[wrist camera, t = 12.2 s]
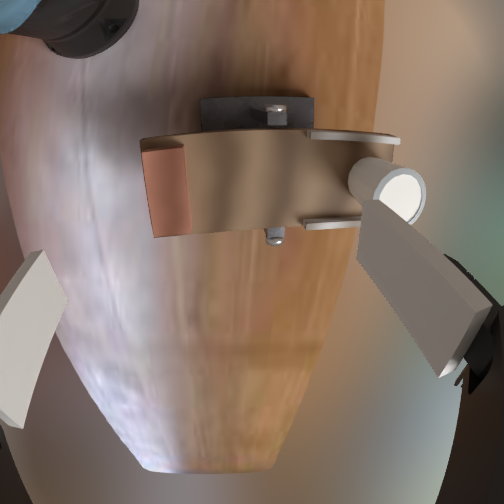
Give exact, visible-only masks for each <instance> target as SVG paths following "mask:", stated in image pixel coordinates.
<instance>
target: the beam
mask: <svg viewBox="0 0 504 504" xmlns="http://www.w3.org/2000/svg"><path fill="white" fill-rule="evenodd" d="M394 144H397V145H400V138H399V137H396V136H393V135H390V134H383V133H373V132H362V131H349V130H332V129H305V128H262V129H234V130H217V131H204V132H192V133H182V134H173V135H165V136H157V137H149V138H143V139H141V140H140V148H141V157H142V165H143V172H144V180H145V187H146V193H147V200H148V206H149V212H150V218H151V224H152V229H153V235H154V238H157V237H168V236H179V235H190V234H201V233H213V232H225V231H238V230H251V229H264V228H278V227H292V226H304V228H305V229H306V230H318V229H333V228H348V227H360V225H361V216H362V206H361V205H360V204H359V203H358V201H357V200H356V199H355V198H354V197H353V195H352V194H351V192H350V191H349V186H348V177H349V173H350V171H351V169H352V167H353V166H354V164H356V163H357V162H358V161H359V160H360V159H363V158H366V157H374V158H379V159H382V160H385V161H389V162H392V160H393V151H394Z"/></svg>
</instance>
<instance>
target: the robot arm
mask: <svg viewBox="0 0 504 504" xmlns="http://www.w3.org/2000/svg"><path fill="white" fill-rule="evenodd" d="M138 6H139V0H0V34H5V33H9V34H16V35H22V36H28V37H33V38H39V39H42V40H43V41H44V42H45V44H46V45H47V46H48V48H49V49H50V50H51V51H52V52H54V53H56V54H57V55H60V56H63V57H68V58H74V59H80V58H87V57H91V56H94V55H96V54H99V53H101V52H103V51H105V50H106V49H108V48H109V47H111V46H112V45H114V44H115V43H116V42H117V41H118V40H119V39H120V38H121V37H122V36H123V35H124V34H125V33H126V32H127V30H128V29H129V28H130V26H131V24H132V23H133V21H134V19H135V16H136V14H137V11H138ZM357 260H358V262H359V263H360V264H361V265H362V267H363V268H364V270H365V271H366V272H367V274H368V275H369V276H370V278H371V279H372V280H373V282H374V283H375V284H376V286H377V287H378V288H379V290H380V291H381V293H382V294H383V295H384V297H385V298H386V299H387V301H388V302H389V304H390V305H391V307H392V308H393V309H394V311H395V312H396V314H397V315H398V317H399V318H400V320H401V321H402V323H403V324H404V325H405V327H406V328H407V330H408V331H409V333H410V334H411V336H412V337H413V339H414V340H415V342H416V343H417V345H418V346H419V348H420V349H421V351H422V353H423V354H424V356H425V357H426V359H427V361H428V362H429V364H430V365H431V367H432V369H433V370H434V372H435V374H436V375H437V377H438V378H439V377H441V376H443V375H446V374H448V373H450V372H452V371H454V370H455V369H456V368H457V366H458V365H459V363H460V362H461V360H462V359H463V357H464V359H465V360H466V361H467V363H468V364H467V365H466V367H465V368H464V370H463V371H462V372H461V374H460V375H459V377H458V378H457V380H456V382H455V384H454V385H455V386H457V385H458V384H459V383H460V381H461V380H462V379H463V384H462V386H461V387H462V394H461V402H460V408H459V415H458V420H457V426H456V431H455V436H454V441H453V445H452V450H451V454H450V458H449V461H448V465H447V469H446V472H445V476H444V479H443V482H442V486H441V489H440V492H439V495H438V498H437V500H436V503H435V504H504V306H501V305H499V303H498V302H497V301H496V300H495V299H494V298H493V297H492V296H491V295H490V294H489V293H488V292H487V291H486V290H485V288H484V287H483V286H482V285H481V284H480V283H479V282H478V281H477V280H476V279H475V280H474V277H473V276H472V275H471V274H470V273H469V272H467V270H466V269H465V268H464V267H463V266H462V265H461V264H460V263H459V262H458V261H456V260H454V259H453V258H451V257H449V256H447V255H446V254H442V253H441V252H440V251H439V250H438V249H437V248H436V247H435V246H433V245H432V244H431V243H430V242H429V241H428V240H427V239H426V238H425V237H424V236H422V235H421V234H420V233H419V232H418V231H417V230H416V229H414V228H413V227H412V226H411V225H410V224H409V223H407V222H406V221H405V220H404V219H403V218H401V217H400V216H399V215H398V214H397V213H395V212H394V211H393V210H392V209H390V208H389V207H388V206H387V205H385V204H384V203H383V202H382V201H380V200H379V199H377V200H366V201H363V205H362V216H361V225H360V234H359V244H358V251H357ZM67 302H68V300H67V298H66V296H65V294H64V292H63V290H62V288H61V286H60V284H59V282H58V280H57V278H56V276H55V274H54V272H53V269H52V267H51V265H50V263H49V261H48V258H47V256H46V254H45V252H44V250H40V251H35V252H31V253H30V255H29V256H28V257H27V258H26V260H25V261H24V263H23V264H22V265H21V267H20V268H19V269H18V271H17V272H16V273H15V275H14V276H13V278H12V279H11V281H10V282H9V284H8V285H7V287H6V288H5V289H4V291H3V292H2V294H1V295H0V418H1V419H2V420H3V421H4V422H6V423H7V424H8V425H9V426H13V427H17V428H21V429H23V427H24V422H25V419H26V415H27V411H28V408H29V404H30V401H31V397H32V394H33V391H34V387H35V384H36V381H37V378H38V375H39V372H40V369H41V366H42V363H43V360H44V358H45V355H46V352H47V350H48V347H49V345H50V342H51V339H52V337H53V335H54V332H55V330H56V327H57V325H58V323H59V320H60V318H61V316H62V313H63V311H64V309H65V307H66V304H67ZM0 504H33V503H32V501H31V499H30V497H29V495H28V493H27V491H26V489H25V487H24V485H23V482H22V480H21V478H20V475H19V473H18V471H17V468H16V466H15V463H14V460H13V458H12V455H11V452H10V450H9V447H8V444H7V441H6V438H5V435H4V431H3V429H2V427H1V425H0Z"/></svg>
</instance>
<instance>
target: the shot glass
mask: <svg viewBox="0 0 504 504" xmlns="http://www.w3.org/2000/svg"><path fill="white" fill-rule="evenodd" d="M348 186H349V191H350V192H351V194H352V195H353V197H354V198H355V199H356V200H357V201H358V203H359V204H360V205H361V206H362V205H363V201H366V200H377V199H379V200H380V201H382V202H383V203H384V204H385V205H387V206H388V207H389V208H390V209H392V210H393V211H394V212H395V213H397V214H398V215H399V216H400V217H401V218H403V219H404V220H405V221H406V222H407V223H409V224H410V225H411V224H413V223H414V222H415V221H416V220H417V218H418V217H419V215H420V213H421V212H422V210H423V208H424V204H425V200H426V189H425V188H426V187H425V184H424V182H423V179H422V177H421V176H420V175H419V174H418V173H417V172H416V171H414V170H413V169H410V168H407V167H404V166H401V165H398V164H395V163H392V162H389V161H385V160H382V159H379V158H374V157H366V158H363V159H360V160H359V161H358V162H357V163H356V164H354V166H353V167H352V169H351V171H350V173H349V177H348Z"/></svg>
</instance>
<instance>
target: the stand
mask: <svg viewBox="0 0 504 504" xmlns="http://www.w3.org/2000/svg"><path fill="white" fill-rule="evenodd" d="M200 111H201V130H202V132H204V131H217V130H234V129H262V128H305V129H313V125H314V98H307V97H278V96H253V97H224V98H208V99H200ZM284 230H285V227H278V228H264V231H265V234H266V243H267V244H268V245H271V246H279V245H282V244H283V243H284Z"/></svg>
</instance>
